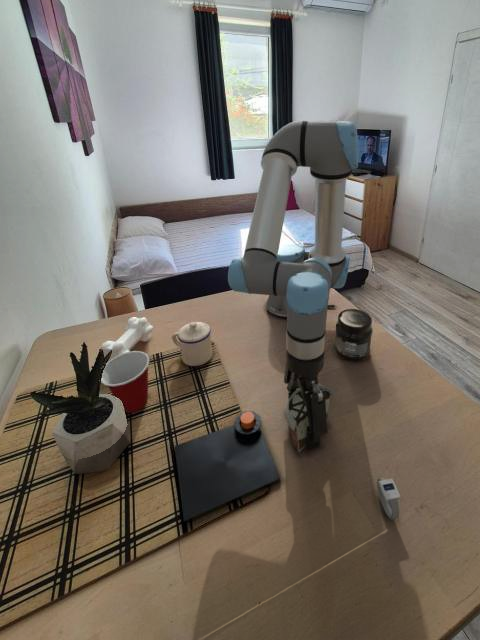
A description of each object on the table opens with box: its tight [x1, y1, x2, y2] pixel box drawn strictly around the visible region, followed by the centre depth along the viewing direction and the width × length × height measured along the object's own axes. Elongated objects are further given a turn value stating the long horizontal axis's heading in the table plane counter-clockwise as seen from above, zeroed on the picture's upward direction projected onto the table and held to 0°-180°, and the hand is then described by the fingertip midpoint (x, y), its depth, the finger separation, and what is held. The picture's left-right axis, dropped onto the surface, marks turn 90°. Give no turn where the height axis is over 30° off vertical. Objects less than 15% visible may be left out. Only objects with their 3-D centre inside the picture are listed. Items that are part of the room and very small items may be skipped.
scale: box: [174, 410, 282, 526], centre depth 66 cm, size 18×16×3 cm
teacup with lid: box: [171, 321, 213, 367], centre depth 93 cm, size 12×9×12 cm
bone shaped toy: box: [100, 316, 154, 361], centre depth 95 cm, size 15×9×8 cm, turn 170°
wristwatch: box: [376, 476, 402, 520], centre depth 58 cm, size 6×3×5 cm, turn 9°
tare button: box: [241, 411, 255, 429], centre depth 71 cm, size 3×3×2 cm
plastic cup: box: [100, 350, 150, 414], centre depth 77 cm, size 11×11×12 cm
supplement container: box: [333, 308, 374, 362], centre depth 95 cm, size 10×10×12 cm
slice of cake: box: [284, 384, 334, 453], centre depth 71 cm, size 12×6×10 cm, turn 134°
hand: (302, 429), depth 73 cm, fingers open, 9 cm apart
